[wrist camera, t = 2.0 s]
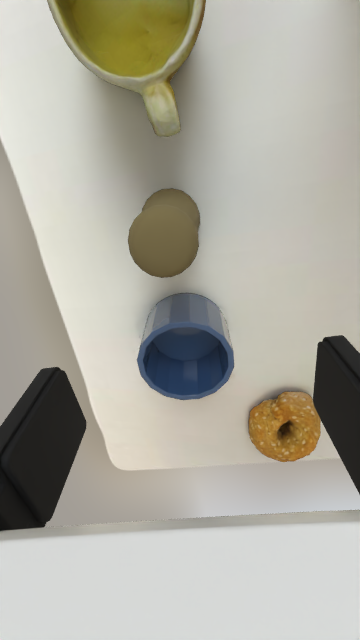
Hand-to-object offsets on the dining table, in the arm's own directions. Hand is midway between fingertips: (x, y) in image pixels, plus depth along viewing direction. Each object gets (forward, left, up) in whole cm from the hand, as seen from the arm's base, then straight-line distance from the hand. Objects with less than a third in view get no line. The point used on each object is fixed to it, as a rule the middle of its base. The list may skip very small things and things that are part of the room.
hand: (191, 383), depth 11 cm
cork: (-2, -2, -23) cm, 23 cm away
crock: (+11, -2, -23) cm, 25 cm away
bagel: (+27, +10, -23) cm, 36 cm away
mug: (-15, -2, -23) cm, 27 cm away
